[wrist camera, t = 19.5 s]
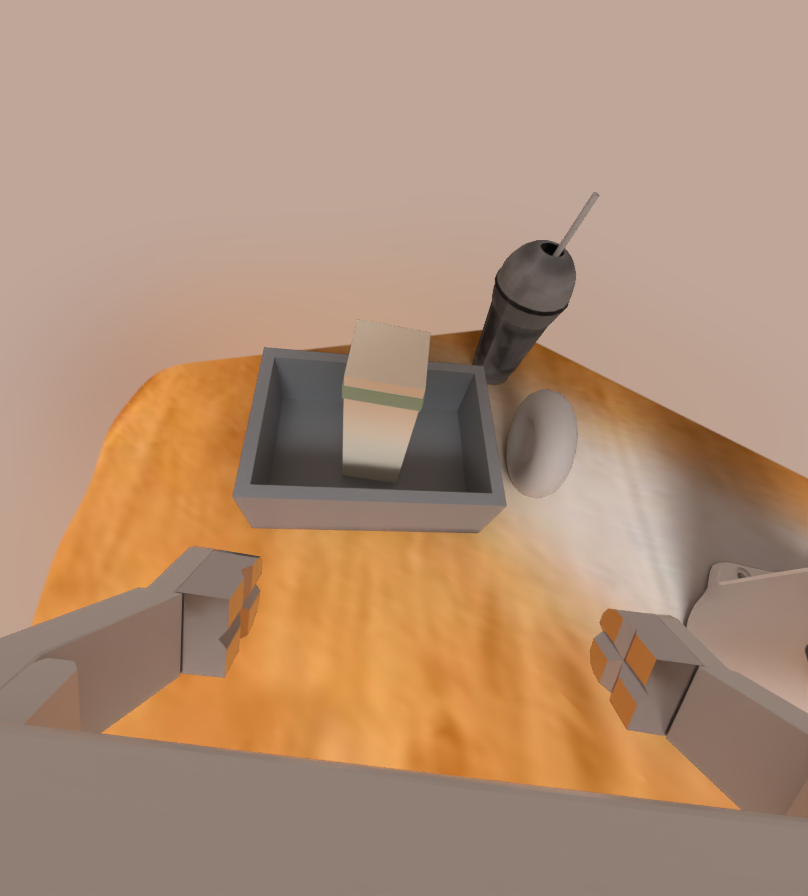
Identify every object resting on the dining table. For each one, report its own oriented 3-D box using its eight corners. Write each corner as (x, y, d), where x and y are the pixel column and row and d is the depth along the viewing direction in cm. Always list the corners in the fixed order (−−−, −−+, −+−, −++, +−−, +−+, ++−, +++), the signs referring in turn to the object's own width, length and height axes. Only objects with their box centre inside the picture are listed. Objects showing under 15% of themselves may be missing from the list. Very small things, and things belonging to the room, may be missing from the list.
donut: (498, 425, 42) (539, 363, 33) (528, 429, 42) (577, 369, 34) (502, 511, 37) (552, 464, 28) (537, 515, 37) (596, 471, 28)
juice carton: (402, 437, 38) (432, 331, 26) (396, 484, 35) (426, 391, 23) (350, 428, 38) (356, 317, 26) (341, 475, 35) (342, 377, 23)
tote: (463, 408, 42) (483, 366, 36) (477, 533, 35) (506, 505, 29) (275, 395, 39) (264, 347, 33) (252, 528, 33) (232, 497, 26)
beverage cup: (456, 345, 47) (525, 160, 30) (512, 348, 48) (609, 172, 31) (465, 393, 43) (549, 215, 26) (525, 395, 45) (643, 225, 27)
